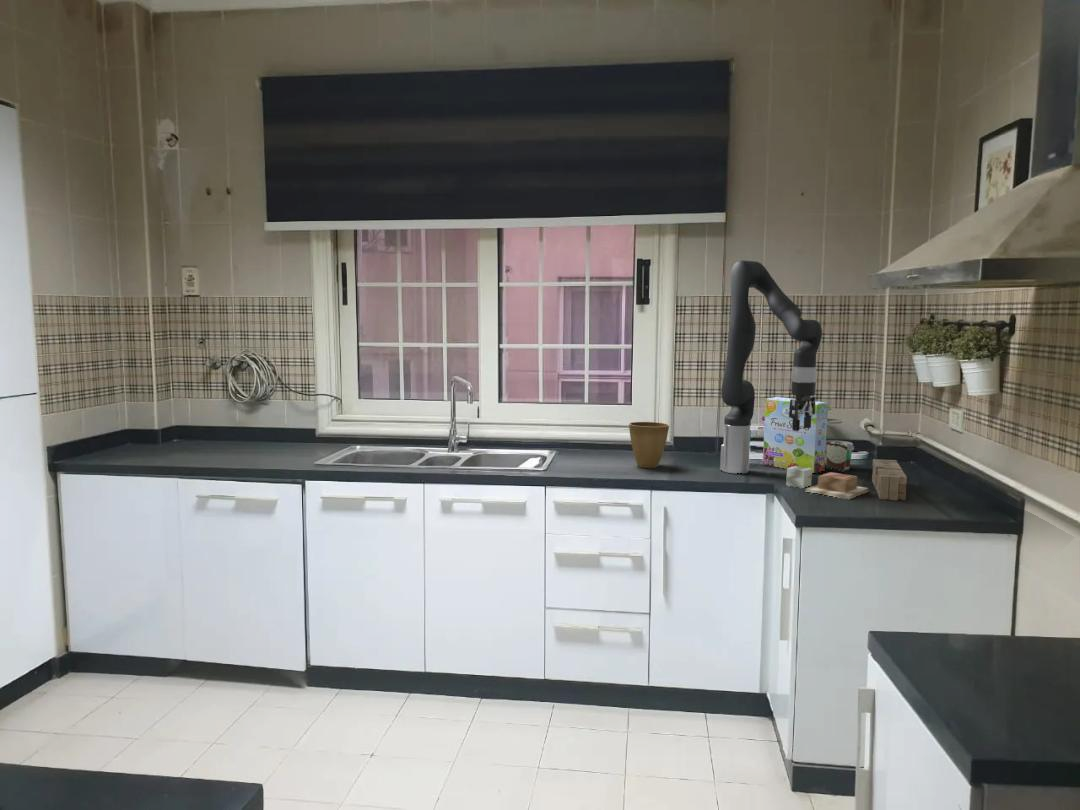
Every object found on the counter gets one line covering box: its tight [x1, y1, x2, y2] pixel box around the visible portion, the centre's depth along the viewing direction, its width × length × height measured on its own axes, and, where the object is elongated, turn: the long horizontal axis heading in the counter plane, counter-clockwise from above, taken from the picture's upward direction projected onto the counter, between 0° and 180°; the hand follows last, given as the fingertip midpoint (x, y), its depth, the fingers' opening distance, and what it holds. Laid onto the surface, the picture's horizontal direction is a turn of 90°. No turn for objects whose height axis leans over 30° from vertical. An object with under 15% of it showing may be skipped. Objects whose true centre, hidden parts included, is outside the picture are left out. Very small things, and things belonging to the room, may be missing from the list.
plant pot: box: [628, 421, 670, 469], centre depth 292 cm, size 15×15×16 cm
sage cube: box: [785, 466, 813, 489], centre depth 262 cm, size 6×6×6 cm
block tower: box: [871, 459, 908, 501], centre depth 256 cm, size 8×8×29 cm
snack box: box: [762, 396, 829, 474], centre depth 290 cm, size 22×9×26 cm, turn 42°
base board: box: [804, 471, 869, 500], centre depth 253 cm, size 14×16×5 cm
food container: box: [825, 439, 855, 472], centre depth 292 cm, size 12×6×10 cm, turn 22°
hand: (801, 429), depth 260 cm, fingers open, 8 cm apart
